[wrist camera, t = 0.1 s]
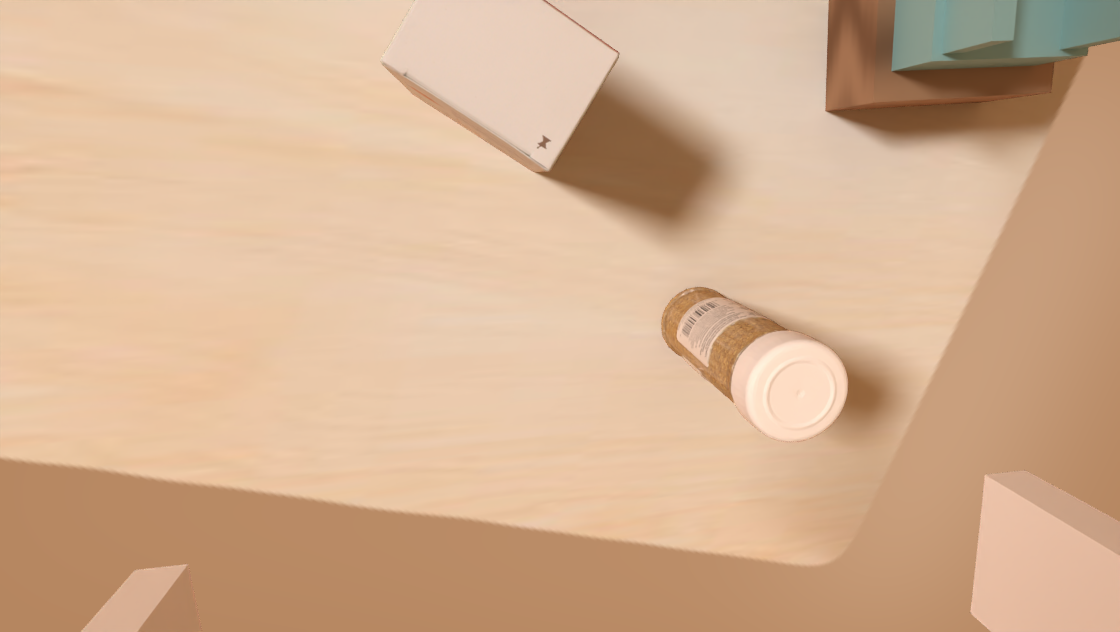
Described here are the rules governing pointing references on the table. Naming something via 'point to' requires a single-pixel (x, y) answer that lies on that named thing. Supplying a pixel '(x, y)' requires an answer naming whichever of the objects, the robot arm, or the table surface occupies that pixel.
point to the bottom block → (868, 81)
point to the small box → (502, 71)
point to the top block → (998, 32)
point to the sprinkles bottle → (758, 364)
